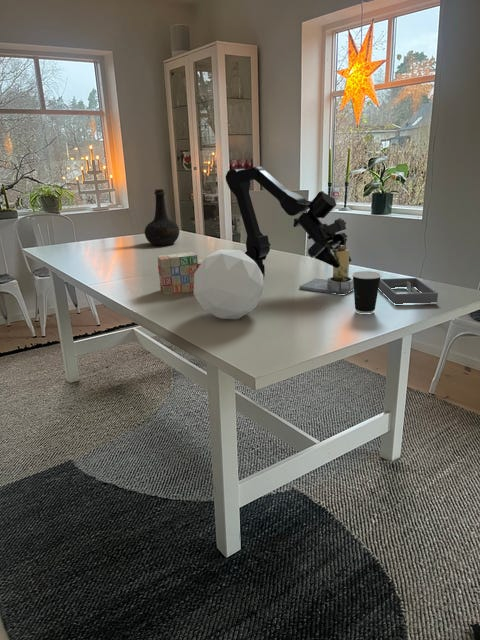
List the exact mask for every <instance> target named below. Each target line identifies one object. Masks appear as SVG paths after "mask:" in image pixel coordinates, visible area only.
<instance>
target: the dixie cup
mask: <svg viewBox="0 0 480 640" xmlns="http://www.w3.org/2000/svg"><path fill="white" fill-rule="evenodd" d="M351 276H352V278H353V285H354V290H353V297H354V309H355V312H356V311H357V312H359V313H372V312H373V311H375V309H376V304H377V300H378V293H379V290H378V288H379V283H380V279H381V278H382V276H383V275H382V273H380V272H378V271H370V270H361V271H360V270H359V271H354V272H352V273H351ZM373 313H374V312H373Z"/></svg>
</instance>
